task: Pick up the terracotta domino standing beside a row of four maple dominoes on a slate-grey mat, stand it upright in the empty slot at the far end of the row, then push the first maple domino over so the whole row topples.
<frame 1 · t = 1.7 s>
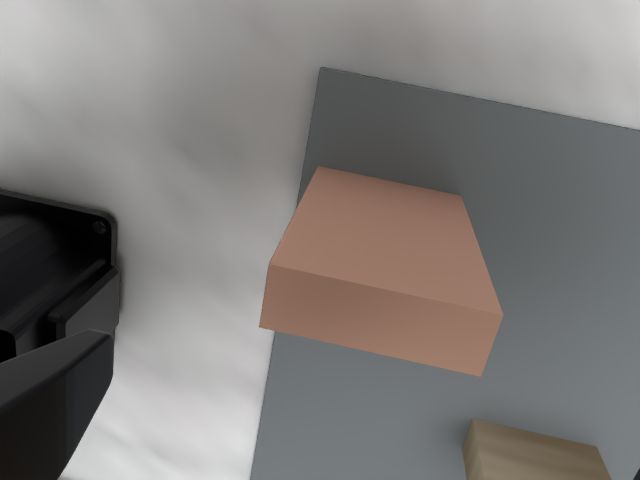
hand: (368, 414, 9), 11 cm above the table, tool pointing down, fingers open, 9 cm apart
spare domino: (384, 202, 19), resting on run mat
domino 4: (527, 447, 22), resting on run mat
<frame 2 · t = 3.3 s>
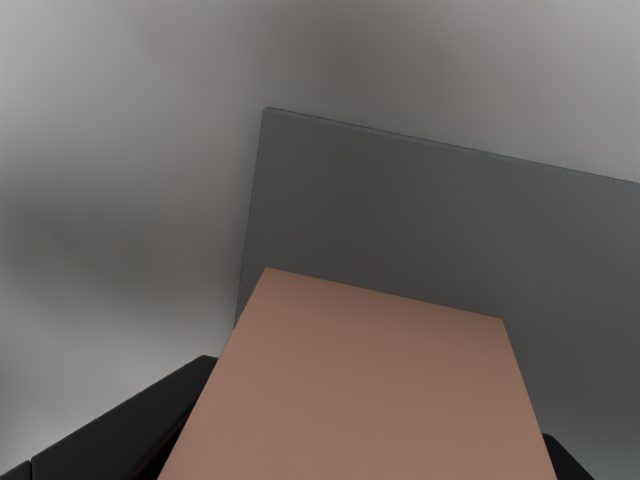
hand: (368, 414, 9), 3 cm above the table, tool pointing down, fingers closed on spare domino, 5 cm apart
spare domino: (374, 324, 12), resting on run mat, touching gripper
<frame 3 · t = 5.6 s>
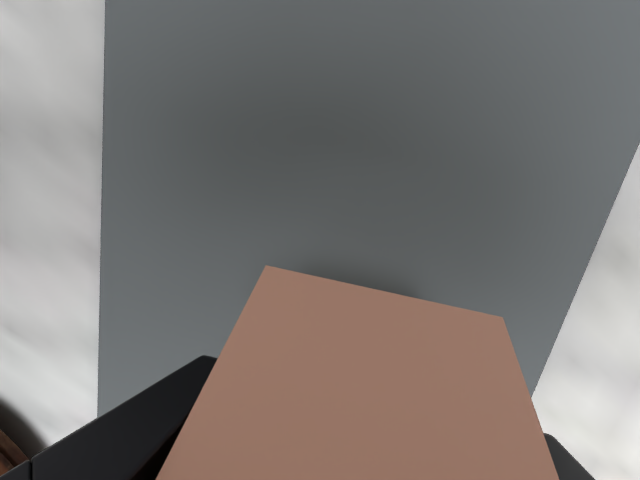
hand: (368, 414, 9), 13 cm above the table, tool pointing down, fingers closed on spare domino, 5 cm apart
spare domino: (374, 323, 12), point 10 cm above the table, touching gripper
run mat: (306, 371, 24), on the table
when the fingers open (4 cm above the table, at t = 7.8 s): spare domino drops 1 cm, resting on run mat.
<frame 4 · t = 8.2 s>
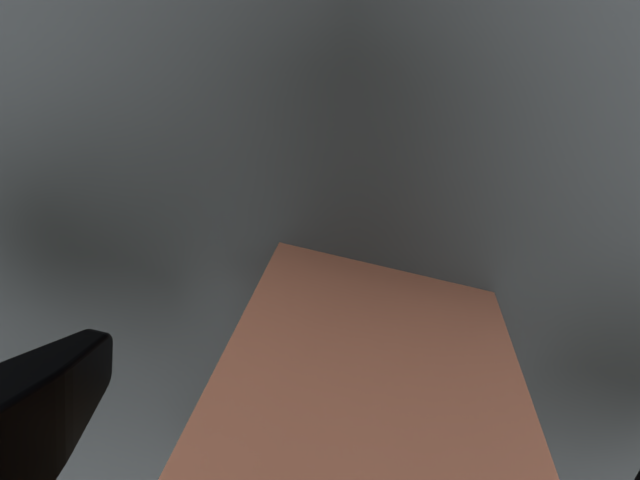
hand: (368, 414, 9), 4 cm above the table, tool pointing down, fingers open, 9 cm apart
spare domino: (377, 297, 13), resting on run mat
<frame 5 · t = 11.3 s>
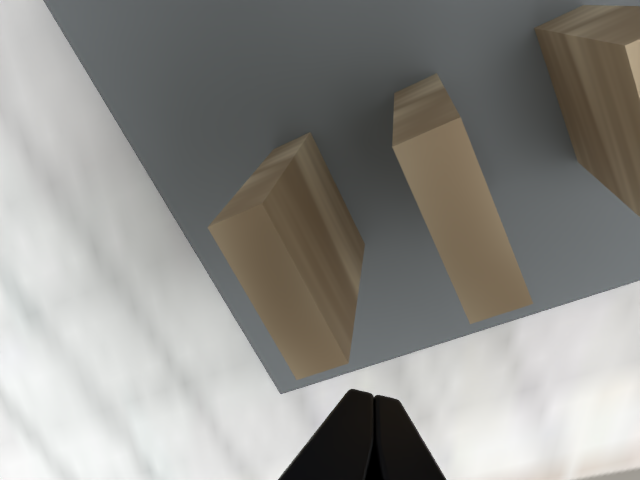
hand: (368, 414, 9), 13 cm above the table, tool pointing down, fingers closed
domino 3: (580, 87, 19), resting on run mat
domino 2: (441, 146, 20), resting on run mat
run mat: (594, 31, 18), on the table
domino 1: (320, 197, 22), resting on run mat
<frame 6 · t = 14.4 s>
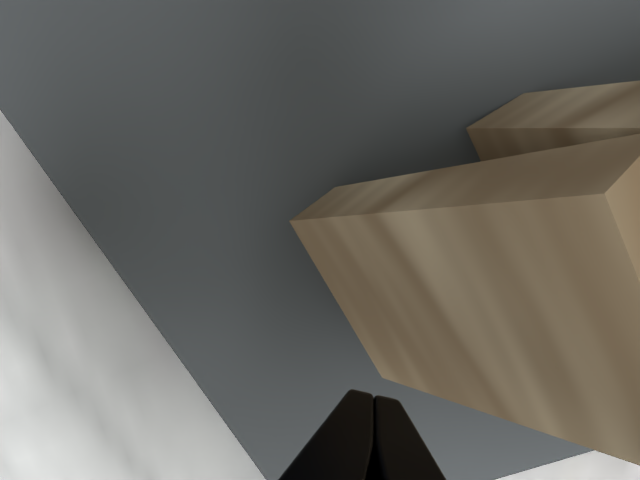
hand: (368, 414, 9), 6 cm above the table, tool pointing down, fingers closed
domino 2: (535, 203, 13), point 1 cm above the table, tilted 22°, touching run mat
domino 1: (359, 284, 14), point 1 cm above the table, tilted 44°
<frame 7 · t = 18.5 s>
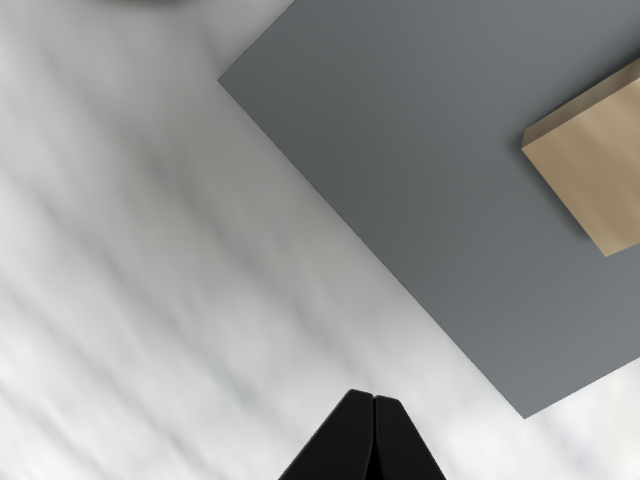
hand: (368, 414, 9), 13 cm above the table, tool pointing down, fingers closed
domino 1: (565, 192, 19), point 1 cm above the table, tilted 71°, touching domino 2, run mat
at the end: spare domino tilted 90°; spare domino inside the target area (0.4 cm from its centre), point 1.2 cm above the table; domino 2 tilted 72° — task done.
